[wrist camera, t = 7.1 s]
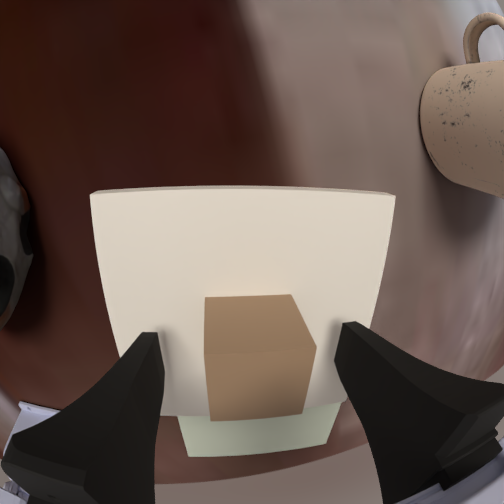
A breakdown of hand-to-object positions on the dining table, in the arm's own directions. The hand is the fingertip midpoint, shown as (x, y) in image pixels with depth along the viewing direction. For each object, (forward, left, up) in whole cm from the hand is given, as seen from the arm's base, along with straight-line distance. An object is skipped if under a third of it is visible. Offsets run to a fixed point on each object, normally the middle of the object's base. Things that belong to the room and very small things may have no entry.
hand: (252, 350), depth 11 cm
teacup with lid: (+15, +12, -7) cm, 20 cm away
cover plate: (0, 0, -2) cm, 2 cm away
